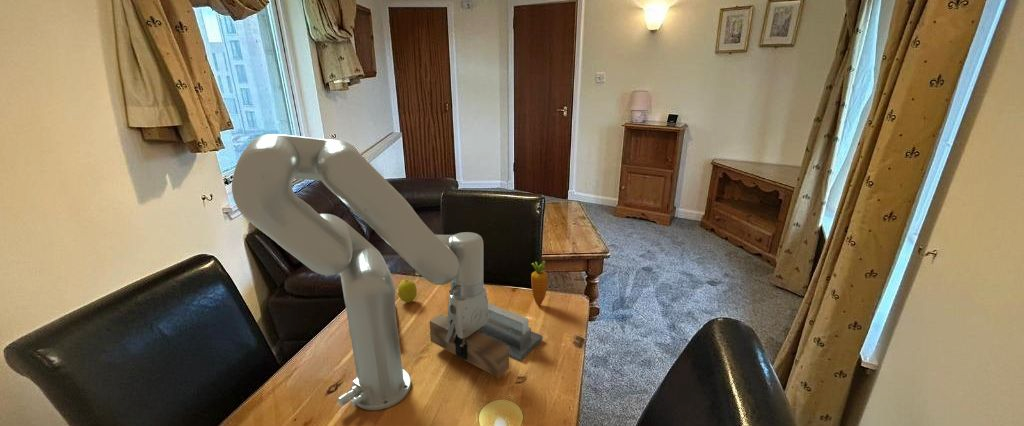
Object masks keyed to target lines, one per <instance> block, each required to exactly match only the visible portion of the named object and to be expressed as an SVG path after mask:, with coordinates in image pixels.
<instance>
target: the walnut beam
mask: <svg viewBox="0 0 1024 426" xmlns="http://www.w3.org/2000/svg"><path fill="white" fill-rule="evenodd" d="M447 333H448V325H447V316H446V315H444V314H442V313H441V314H439V315H437V316H435V317H433V318H432V319H430V320H429V334H430V335H429V336H430V342H431V343H433V344H434V345H437V346H439V347H440V348H443V349H444V350H446V351H448V352H450V353H452V354H453V355H455V356H456V347H455V343H454V344H453V343H448V342H446V341H445V339H446V336H447ZM458 339H459V340H461V338H458ZM465 345H467V359H466V360H465V361H466V362H468V363H470V364H471V365H473V366H475V367H477V368H479V369H481V370H483V371H485V372H487V373H489V374H491V375H493V376H494V377H496V378H498V379H499V378H500V377H501V376H503V374H505V373H506V372H507V371H508V370H509V369H510V356H509V346H507V345H505V344H503V343H501V342H499V341H496V340H494V339H492V338H490V337H488V336H486V335H484V334H482V333H480V332H478V331H475V332H474V333H472V334H471V335H469V336H468V337H466V341H465Z"/></svg>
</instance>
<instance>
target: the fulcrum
mask: <svg viewBox="0 0 1024 426" xmlns="http://www.w3.org/2000/svg"><path fill="white" fill-rule="evenodd" d="M481 330H482V334H484V335H486V336H488V337H490V338H492V339H494V340H496V341H499V342H501V343H503V344H505V345H507V346H509V357H512V358H514V359H516V360H518V361H520V362H522V361H523V360H524V359H525V358H526V357H527V356H528V355H529V354H530V353H532V351H534V349H535V348H536V347H537V346H538V345H540V343H542V342H543V335H542V334H539V333H537V332H534V331H532V327H529V318H527V317H525V316H522V315H520V314H517V313H515V312H514V311H513V312H512V311H510V310H507V309H505V308H502V307H499V306H497V305H495V304H492V303H490V302H488V321H487V323H486V324H485V325H484V326H482V329H481Z"/></svg>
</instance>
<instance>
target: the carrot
mask: <svg viewBox="0 0 1024 426" xmlns="http://www.w3.org/2000/svg"><path fill="white" fill-rule="evenodd" d="M545 264H546V261H545V260H542V262H541V263H540V264H539V263H538V262H537V261H534V262H532V263H531V266H532V267H533V269H534V271H533V272H532V273H531V275H530V276H531V277H530V278H531V279H530V280H531V291H532V295H533V298H534V302H535V304H536V305H537V306H538V307H539V306H541V305H542V304H543V301H544V300H545V298H546V294H547V290H548V274H547V272H546V271H544V268H545Z"/></svg>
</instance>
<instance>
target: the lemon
mask: <svg viewBox="0 0 1024 426" xmlns="http://www.w3.org/2000/svg"><path fill="white" fill-rule="evenodd" d="M397 292H398V293H397V294H398V298H399V299H400V300H401V301H402V302H404V303H408V304H410V303H411V302H412V301H414V300H415V299H416V297H417V294H418V290H417V286H416V283H415V282H414V281H413V280H410V279H404V280H402V281H401V282H400V283H399V284H398V288H397Z"/></svg>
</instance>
